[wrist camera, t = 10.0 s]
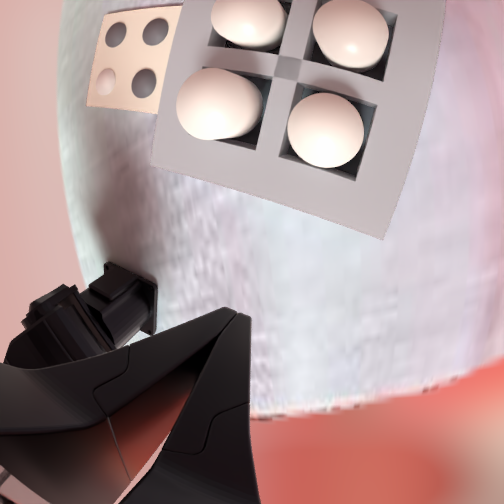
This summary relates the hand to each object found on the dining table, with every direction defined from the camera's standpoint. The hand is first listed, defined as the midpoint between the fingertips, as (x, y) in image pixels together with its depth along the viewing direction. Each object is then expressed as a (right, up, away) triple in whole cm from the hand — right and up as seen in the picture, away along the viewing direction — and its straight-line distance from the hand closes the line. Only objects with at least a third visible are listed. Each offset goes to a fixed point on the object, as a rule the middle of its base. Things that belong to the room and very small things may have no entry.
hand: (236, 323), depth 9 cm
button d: (+1, +17, +7) cm, 18 cm away
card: (-9, +18, +11) cm, 23 cm away
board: (+3, +13, +8) cm, 16 cm away
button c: (+7, +15, +6) cm, 17 cm away
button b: (-1, +11, +8) cm, 14 cm away
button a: (+5, +9, +9) cm, 14 cm away
